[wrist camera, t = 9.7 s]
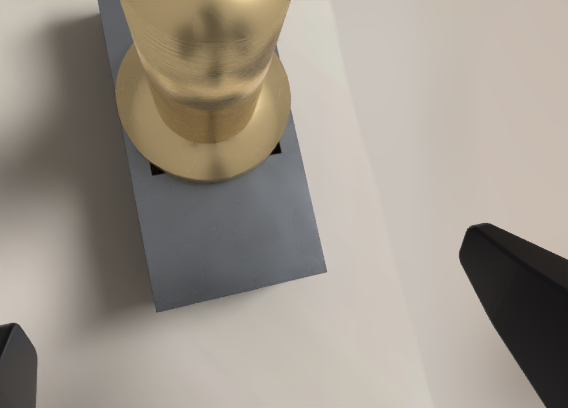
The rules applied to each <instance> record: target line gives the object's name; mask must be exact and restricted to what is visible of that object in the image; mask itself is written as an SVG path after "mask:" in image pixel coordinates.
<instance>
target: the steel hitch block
mask: <svg viewBox="0 0 568 408" xmlns="http://www.w3.org/2000/svg"><path fill="white" fill-rule="evenodd" d="M98 4H99V10H100V15H101V20H102V26H103V31H104V36H105V42H106V47H107V52H108V58H109V63H110V68H111V73H112V79H113V84H114V89H115V92H116V80H117V76H118V71H119V68H120V65H121V63H122V60H123V58H124V56H125V55H126V53H127V51H128V50H129V48H130V47H131V46H132V44H133V43H134V41H133V38H132V35H131V32H130V29H129V26H128V23H127V20H126V17H125V14H124V11H123V8H122V5H121V2H120V0H98ZM274 51H275V53H276V54H277V56H278V57H279V54H278V50H277V45H276V47H275V50H274ZM115 95H116V93H115ZM120 121H121V120H120ZM121 127H122V132H123V137H124V143H125V148H126V153H127V159H128V164H129V169H130V175H131V180H132V185H133V191H134V196H135V201H136V207H137V212H138V217H139V223H140V228H141V233H142V239H143V244H144V249H145V255H146V260H147V265H148V271H149V276H150V281H151V287H152V292H153V297H154V303H155V308H156V313H157V312H161V311H165V310H169V309H174V308H178V307H182V306H186V305H191V304H195V303H199V302H203V301H207V300H212V299H216V298H220V297H224V296H228V295H233V294H237V293H241V292H245V291H249V290H254V289H258V288H262V287H266V286H270V285H275V284H279V283H283V282H287V281H292V280H296V279H300V278H304V277H308V276H313V275H317V274H321V273H325V272H327V269H326V265H325V260H324V256H323V251H322V247H321V242H320V238H319V233H318V229H317V225H316V220H315V216H314V211H313V207H312V202H311V198H310V193H309V189H308V184H307V180H306V175H305V171H304V166H303V162H302V157H301V153H300V148H299V144H298V139H297V135H296V130H295V126H294V121H293V117H292V112H291V108H290V114H289V119H288V122H287V125H286V128H285V130H284V133H283V135H282V137H281V138H280V140H279V142H278V143H277V145H276V146H275V148H274V150H273V151H272V152H271V154H270V155H269V156H268V157H267V158H266V160H264V161H263V162H262V163H261V164H260V165H259V166H258V167H256V168H255V169H253V170H252V171H251V172H249V173H247V174H245V175H243V176H241V177H239V178H236V179H233V180H230V181H225V182H221V183H210V184H206V183H194V182H188V181H184V180H181V179H178V178H175V177H173V176H170V175H168V174H160V175H159V172H158V168H156V167H155V166H154V165H152V164H151V163H150V162H149V161H147V160H146V159H145V158H144V156H143V155H142V154H141V153H140V152H139V151H138V150H137V148H136V147H135V145H134V144H133V143H132V141H131V140H130V138H129V136H128V135H127V133H126V131H125V129H124V127H123V125H122V122H121Z"/></svg>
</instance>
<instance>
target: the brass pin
mask: <svg viewBox="0 0 568 408" xmlns="http://www.w3.org/2000/svg"><path fill="white" fill-rule="evenodd" d="M290 1H291V0H120V2H121V5H122V8H123V11H124V14H125V17H126V20H127V23H128V26H129V29H130V32H131V35H132V38H133V41H134V43H133V44H132V46H131V47H130V48H129V50H128V51H127V53H126V55H125V56H124V58H123V60H122V63H121V65H120V68H119V71H118V76H117V80H116V92H115V93H116V105H117V109H118V114H119V117H120V120H121V122H122V125H123V127H124V129H125V131H126V133H127V135H128V136H129V138H130V140H131V141H132V143H133V144H134V145H135V147H136V148H137V150H138V151H139V152H140V153H141V154H142V155H143V156H144V158H145V159H146V160H147V161H149V162H150V163H151V164H152V165H154V166H155V167H156V168H158V169H159V170H161V171H163V172H164V173H166V174H168V175H170V176H173V177H175V178H178V179H181V180H184V181H188V182H194V183H206V184H210V183H221V182H225V181H230V180H233V179H236V178H239V177H241V176H243V175H245V174H247V173H249V172H251V171H252V170H253V169H255V168H256V167H258V166H259V165H260V164H261V163H262V162H263V161H264V160H266V158H267V157H268V156H269V155H270V154H271V152H272V151H273V150H274V148H275V146H276V145H277V143H278V142H279V140H280V138H281V137H282V135H283V133H284V130H285V128H286V125H287V122H288V119H289V114H290V107H291V94H290V86H289V82H288V78H287V74H286V72H285V69H284V67H283V65H282V63H281V61H280V59H279V57H278V56H277V54H276V53H275V51H274V50H275V47H276V44H277V41H278V38H279V35H280V32H281V29H282V26H283V22H284V19H285V16H286V13H287V10H288V7H289V4H290Z"/></svg>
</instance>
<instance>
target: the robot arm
mask: <svg viewBox="0 0 568 408" xmlns="http://www.w3.org/2000/svg"><path fill="white" fill-rule="evenodd" d="M459 259H460V262H461V265H462V266H463V268H464V271H465V273H466V275H467V276H468V278H469V280H470V282H471V284H472V286H473V288H474V290H475V292H476V294H477V296H478V298H479V299H480V302H481V303H482V306H483V307H484V309H485V312H486V313H487V315H488V317H489V319H490V321H491V322H492V324H493V326H494V328H495V329H496V331H497V332H498V334H499V335H500V337H501V339H502V340H503V342H504V343H505V345H506V346H507V348H508V349H509V351H510V353H511V354H512V355H513V357H514V359H515V360H516V362H517V363H518V365H519V366H520V368H521V370H522V371H523V373H524V374H525V376H526V377H527V379H528V380H529V382H530V383H531V385H532V387H533V388H534V390H535V391H536V393H537V394H538V396H539V397H540V399H541V400H542V402H543V403H544V405H545V406H546V408H568V260H567V259H565V258H563V257H561V256H559V255H556V254H554V253H552V252H550V251H548V250H546V249H544V248H541V247H539V246H537V245H535V244H533V243H531V242H529V241H526V240H524V239H522V238H520V237H518V236H516V235H514V234H512V233H509V232H507V231H505V230H503V229H500V228H498V227H496V226H494V225H492V224H490V223H482V224H477V225H472V226H470V227H469V228H468V229H467V231H466V233H465V236H464V239H463V242H462V245H461V248H460V251H459ZM36 387H37V353H36V350H35V348H34V346H33V344H32V343H31V341H30V340H29V338H28V337H27V335H26V334H25V332H24V331H23V329H22V328H21V327H20V325H18V324H17V323H9V324H4V325H0V408H36Z"/></svg>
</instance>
